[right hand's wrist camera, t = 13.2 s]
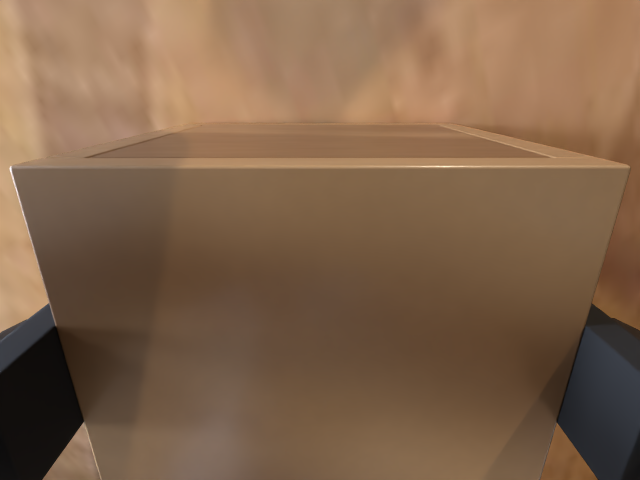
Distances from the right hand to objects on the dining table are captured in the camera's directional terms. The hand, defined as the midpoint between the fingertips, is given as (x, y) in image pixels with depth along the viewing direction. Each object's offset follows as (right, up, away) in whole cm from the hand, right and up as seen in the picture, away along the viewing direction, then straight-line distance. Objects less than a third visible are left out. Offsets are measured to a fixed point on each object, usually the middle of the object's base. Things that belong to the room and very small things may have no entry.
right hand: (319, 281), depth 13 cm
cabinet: (0, -3, +7) cm, 8 cm away
